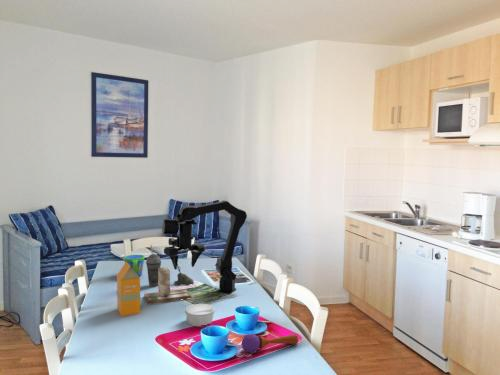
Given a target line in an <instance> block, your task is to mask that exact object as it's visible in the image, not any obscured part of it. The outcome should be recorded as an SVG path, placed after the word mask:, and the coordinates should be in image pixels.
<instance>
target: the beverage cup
mask: <svg viewBox="0 0 500 375" xmlns="http://www.w3.org/2000/svg"><path fill="white" fill-rule="evenodd" d="M150 250H151V254H150V255H149V256H147V258H146V261H145V264H146V268H147V270H146V271H147V278H148V286H149V287H150V288H157V287H158V268H161V267H162V266H161V265H162V260H161V257H160V256H159V255H158V254H156V253H155V254H154V252H153V245H152V244H151V245H150Z"/></svg>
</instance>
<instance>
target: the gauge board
mask: <svg viewBox="0 0 500 375" xmlns="http://www.w3.org/2000/svg"><path fill="white" fill-rule="evenodd" d="M143 298H144V299H145V301H146V303H147V305H153V304H154V305H155V304H162V303H163V304H164V303H170V302H176V301H182V300H181V299H187V298H191V299H192V295H191V293H190V292H189V291H188V290H187V289H186V288H183V289H172V290H170V295H167V297H165V296H161V295H160V293H159V292H158V291H156V292H149V293H148V292H147V293H144V296H143ZM187 300H188V299H187Z"/></svg>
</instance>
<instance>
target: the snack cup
mask: <svg viewBox="0 0 500 375" xmlns="http://www.w3.org/2000/svg"><path fill="white" fill-rule="evenodd" d="M145 258H146V257H145V255H143V254H130V255H129V254H128V255H125V256H124V257H123V261H124V263H125V262H127V263H128V264H129V265H130V266H131V267H132V269H133V270H134V271H135V272H136V274H137V275H138V276H139V277H140V276H142V275H143V271H144V270H143V269H144V261H145Z"/></svg>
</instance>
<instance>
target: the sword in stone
mask: <svg viewBox="0 0 500 375" xmlns="http://www.w3.org/2000/svg"><path fill="white" fill-rule="evenodd" d="M177 271H178V274H177V280H175V281H174V285H176V286H190V284H192V285H194V283H195V281H194V280H193V278H191V277H190V276H188V275H187V274H185V273H183V272H181V267H180V266H179V264H178V263H177Z"/></svg>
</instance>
